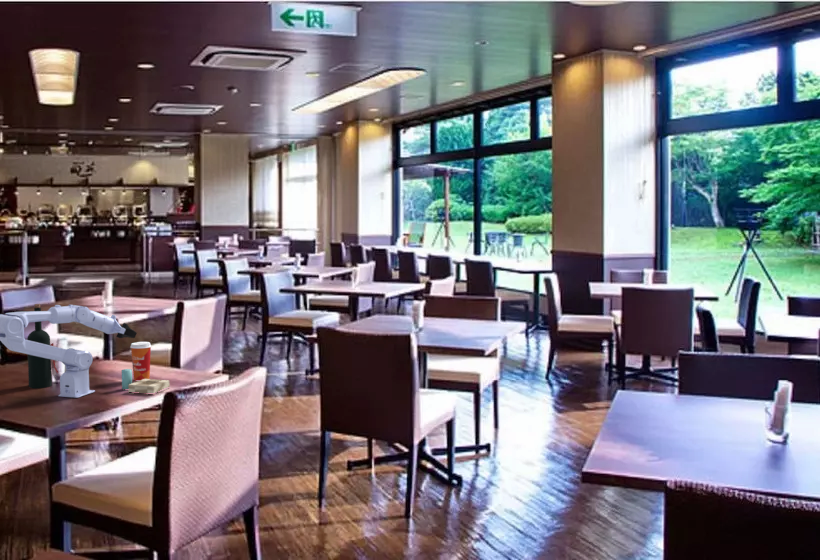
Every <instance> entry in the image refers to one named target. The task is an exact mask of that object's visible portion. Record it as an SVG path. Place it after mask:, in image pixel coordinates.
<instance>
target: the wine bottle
mask: <svg viewBox="0 0 820 560" xmlns="http://www.w3.org/2000/svg"><path fill="white" fill-rule="evenodd" d="M33 310H34V311H42V307H41V304H40V303H35V304H34V309H33ZM42 328H43V327H42V321H38V322H34V330H32V331H31V332H30V333H29V334H28V336H27V338H26V340H29V341H33V342H38V343H42V344H46V345H50V346H54V342H53V343H52V342H51V337H50V334H49V333H48V332H47V331H45V330H44V329H42ZM55 361H56V360H51V359H47V358H42V357H38V356H33V355H29V354H27V371H28V374H27V375H28V388H29V387H30V388H29V389H47V388H49V387H52V386H53V378H52V377H53V375H52V363H53V368H54V370H55V372H56V373H57V374H59V370H58V369H57V367H56V362H55Z"/></svg>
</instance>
